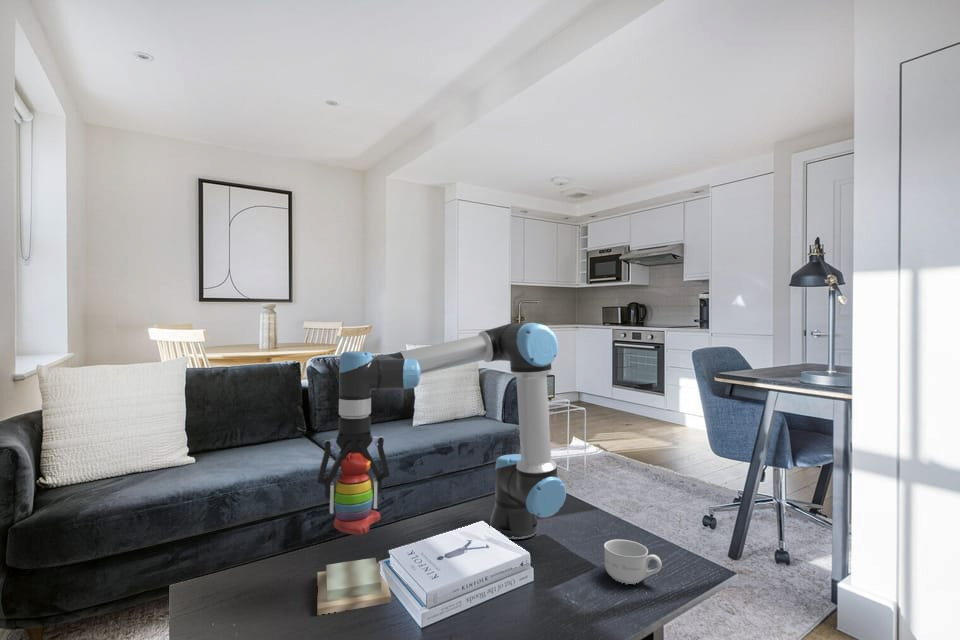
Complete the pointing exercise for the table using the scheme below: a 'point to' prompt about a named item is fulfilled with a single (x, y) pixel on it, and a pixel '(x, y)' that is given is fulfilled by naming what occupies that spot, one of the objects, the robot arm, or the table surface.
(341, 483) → the stacking bear
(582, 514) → the table surface
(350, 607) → the plinth
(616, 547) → the teacup
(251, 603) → the table surface
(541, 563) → the table surface
